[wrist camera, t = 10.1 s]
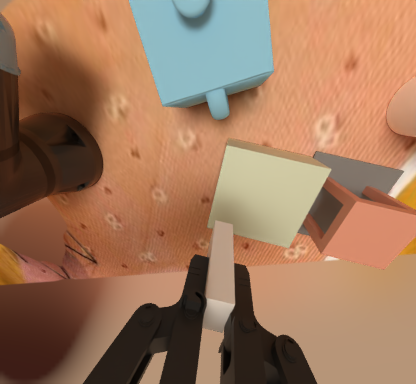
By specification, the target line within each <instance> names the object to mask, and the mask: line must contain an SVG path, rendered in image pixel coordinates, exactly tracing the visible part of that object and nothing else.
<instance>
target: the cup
mask: <svg viewBox="0 0 416 384" xmlns="http://www.w3.org/2000/svg"><path fill="white" fill-rule="evenodd" d="M386 120H387V124H388V126H389V127H390V129H391V130H392V131H394V132H395V133H397V134H400V135H405V136H412V137H416V76H415V77H413V78H411V79H410V80H408V81H407V82H406V83H405V84H404V85H402V86H401V87H400V88H399V89H398V91H397V92H396V93H395V94H394V96H393V97H392V99H391V101H390V103H389V105H388V108H387V113H386Z"/></svg>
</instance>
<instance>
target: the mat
mask: <svg viewBox="0 0 416 384" xmlns="http://www.w3.org/2000/svg"><path fill="white" fill-rule="evenodd" d="M313 158H314V159H316V160H317V161H319V162H321V163H322V164H324V165H325V166H327V167H329V168H330V169H332V170H331V172H330V173H329V175H328V177H330V178H332V179H333V180H335V181H336V182H338V183H339V184H340V185H342V186H343V187H345V188H346V189H348V190H349V191H350V192H352V193H353V194H355V195H356V196H358V197H359V198H361V199H365V200H369V201H373V200H372V199H370V198H369V197H367V196H366V195H364V194H363V193H362V192H363V190H364V189H365V187H366V186H370V187H374V188H376V189H378V190H380V191H382V192H384V193H386V194H388V192H389V191H390V190H391V188H392V187H393V186H394V184H395V183H396V182H397V180H398V179H399V178H400V176H401V175H402V174H403V172H404V171H402V170H397V169H393V168H388V167H384V166H380V165H375V164H371V163H366V162H362V161H358V160H353V159H349V158H344V157H340V156H335V155H331V154H327V153H322V152H318V151H316V152H315V154H314V156H313ZM373 202H375V201H373ZM342 207H343V204H342V203H341V202H340V201H339V200H337V199H336V198H335V197H334V196H333V195H332V194H331V193H329V192H328V191H327V190H326V189H325V188H324V187H322V188H321V190H320V192H319V194H318V195H317V197H316V199H315V201H314V203H313V205H312V206H311V208H310V210H309V212H308V213H309V214H311V216H312V217H313V219H314V220H315V221H316V223H317V224H318V225H319V227H320V228H321V230H322V231H323V232H324V234H325V233H326V232H327V230H328V229H329V227H330V225H331V224H332V222H333V221H334V219H335V218H336V216H337V214H338V213H339V211H340V210H341V208H342ZM297 233H301V234H305V235H309V236H310V234H309V233H308V231H307V229H306V228H305V226H304V224H303V223H302V225H301V227H300V228H299V230H298V232H297Z"/></svg>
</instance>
